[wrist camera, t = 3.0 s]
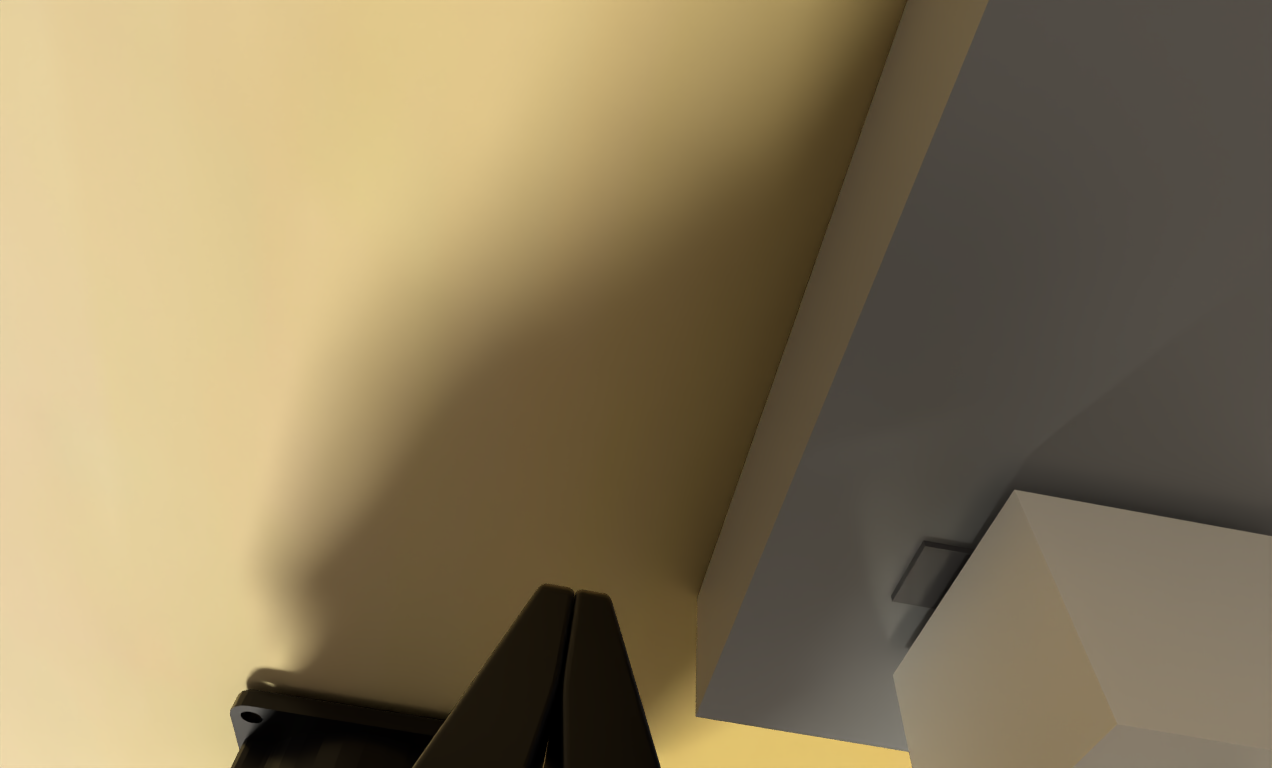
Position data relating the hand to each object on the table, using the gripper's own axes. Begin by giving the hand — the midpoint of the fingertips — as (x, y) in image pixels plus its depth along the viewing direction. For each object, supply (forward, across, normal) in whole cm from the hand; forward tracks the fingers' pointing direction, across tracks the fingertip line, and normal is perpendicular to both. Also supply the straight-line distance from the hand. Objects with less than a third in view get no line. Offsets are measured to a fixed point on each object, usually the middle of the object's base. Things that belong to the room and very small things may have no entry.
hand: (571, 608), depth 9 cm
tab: (+1, -7, 0) cm, 7 cm away
